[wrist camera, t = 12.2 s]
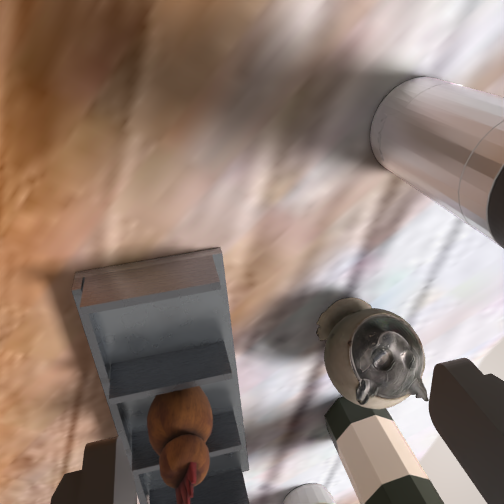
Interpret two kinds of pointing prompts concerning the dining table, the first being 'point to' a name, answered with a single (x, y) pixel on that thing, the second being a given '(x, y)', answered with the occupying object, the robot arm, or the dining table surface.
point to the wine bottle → (377, 456)
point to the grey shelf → (167, 361)
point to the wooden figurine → (181, 438)
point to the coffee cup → (309, 495)
